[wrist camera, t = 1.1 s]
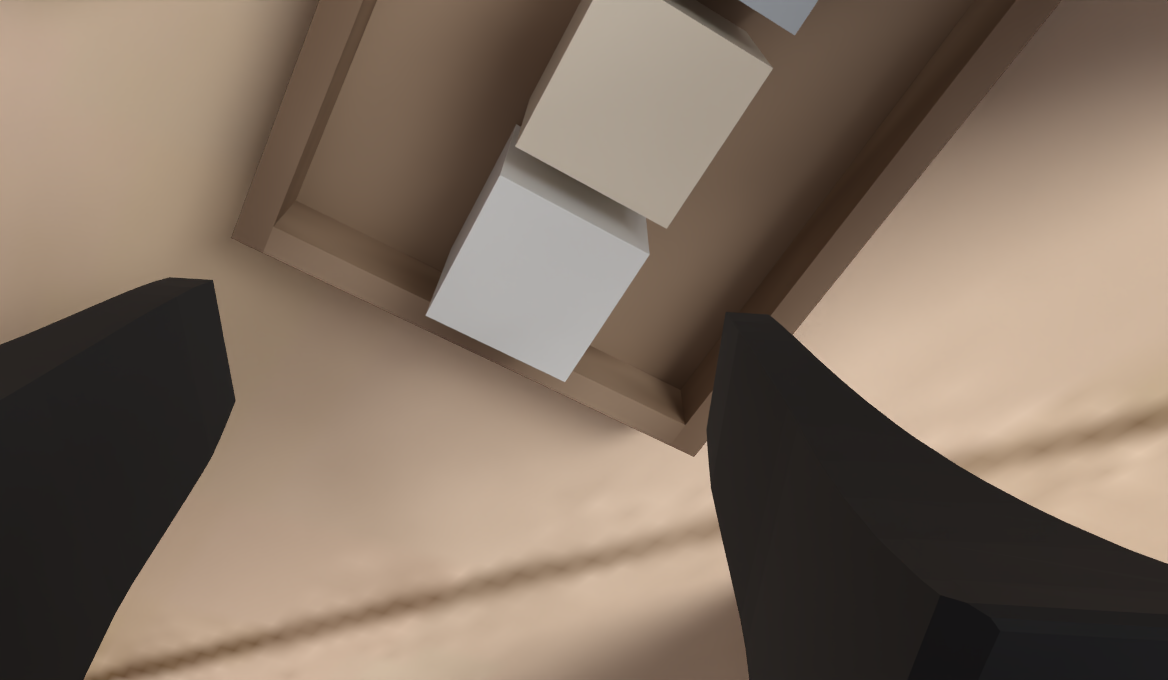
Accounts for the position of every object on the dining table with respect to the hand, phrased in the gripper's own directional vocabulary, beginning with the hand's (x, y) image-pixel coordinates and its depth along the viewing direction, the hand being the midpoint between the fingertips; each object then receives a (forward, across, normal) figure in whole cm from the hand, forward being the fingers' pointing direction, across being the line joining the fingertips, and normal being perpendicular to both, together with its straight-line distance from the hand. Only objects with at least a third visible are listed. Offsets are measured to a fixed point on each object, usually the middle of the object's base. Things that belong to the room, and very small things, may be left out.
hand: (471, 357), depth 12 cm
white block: (+9, -1, +2) cm, 9 cm away
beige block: (+9, -2, -2) cm, 9 cm away
